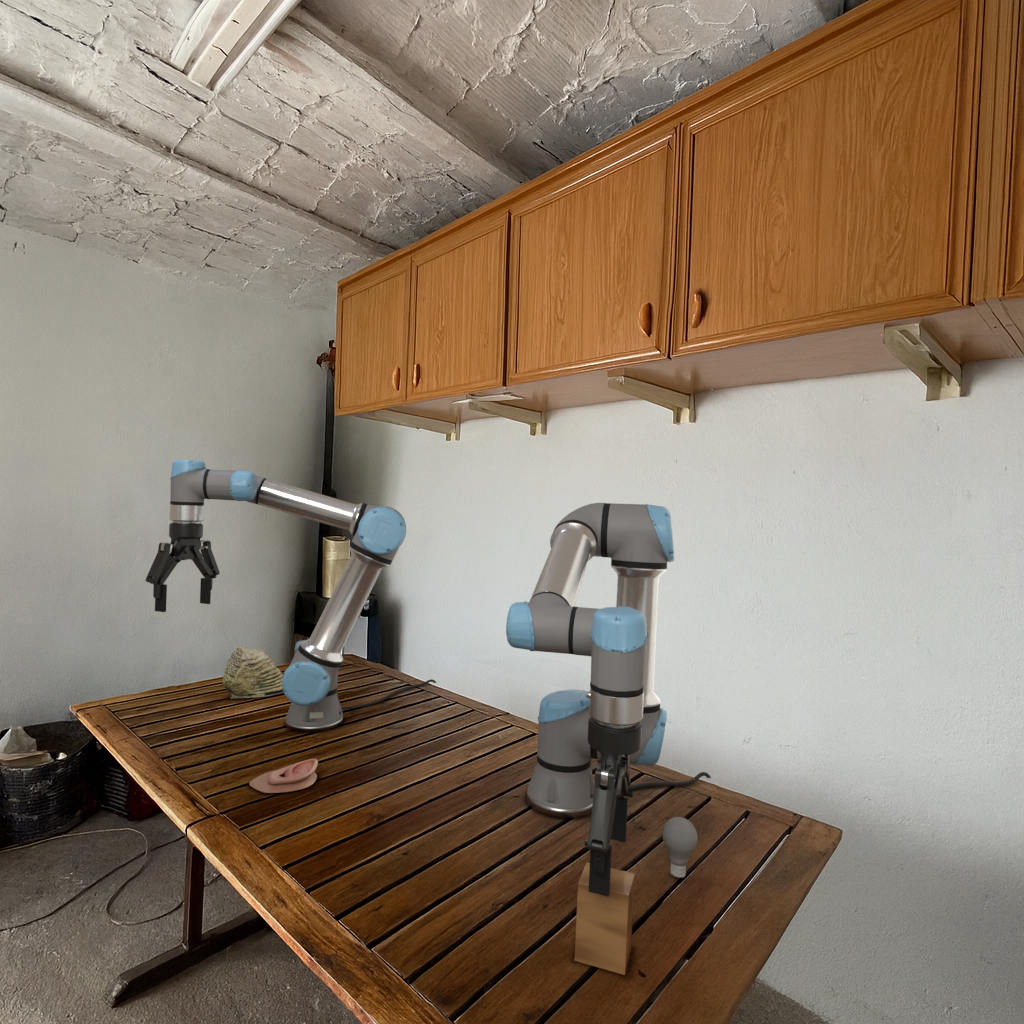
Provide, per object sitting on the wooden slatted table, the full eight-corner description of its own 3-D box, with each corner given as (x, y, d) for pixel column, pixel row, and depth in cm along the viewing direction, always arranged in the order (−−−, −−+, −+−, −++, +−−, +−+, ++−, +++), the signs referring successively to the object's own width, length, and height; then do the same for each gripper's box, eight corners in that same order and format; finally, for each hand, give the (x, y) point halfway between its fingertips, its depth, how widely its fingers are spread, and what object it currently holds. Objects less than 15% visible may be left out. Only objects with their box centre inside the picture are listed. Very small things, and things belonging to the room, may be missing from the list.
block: (583, 936, 94) (586, 861, 94) (631, 949, 92) (634, 873, 92) (574, 960, 89) (577, 882, 89) (624, 975, 87) (628, 894, 87)
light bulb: (655, 865, 113) (658, 810, 113) (688, 865, 114) (691, 810, 114) (666, 886, 107) (669, 827, 107) (701, 886, 108) (704, 827, 108)
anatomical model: (241, 770, 135) (272, 750, 146) (240, 789, 135) (271, 767, 146) (297, 779, 132) (324, 757, 144) (297, 798, 132) (324, 775, 144)
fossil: (218, 695, 195) (220, 647, 195) (278, 685, 208) (279, 640, 207) (228, 703, 189) (230, 653, 188) (289, 692, 201) (290, 645, 201)
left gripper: (213, 520, 170) (210, 599, 171) (130, 522, 147) (127, 613, 147) (235, 522, 168) (232, 601, 168) (154, 524, 144) (151, 616, 145)
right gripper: (605, 688, 103) (599, 816, 104) (567, 748, 79) (560, 912, 80) (652, 695, 100) (646, 825, 101) (627, 758, 77) (620, 927, 78)
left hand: (183, 607), depth 158 cm, fingers open, 13 cm apart
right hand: (608, 864), depth 91 cm, fingers open, 13 cm apart
